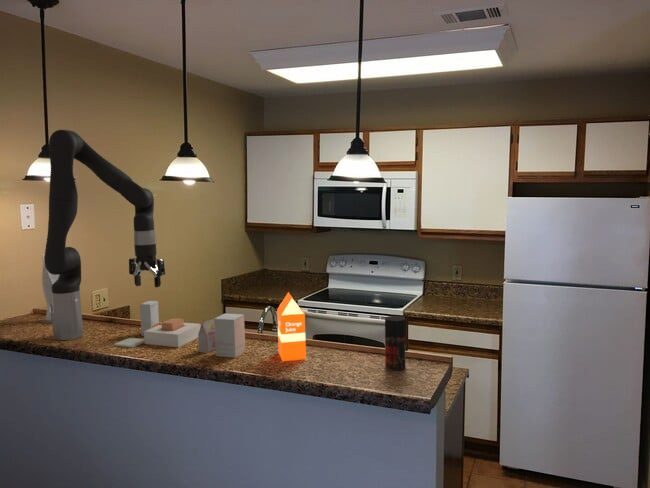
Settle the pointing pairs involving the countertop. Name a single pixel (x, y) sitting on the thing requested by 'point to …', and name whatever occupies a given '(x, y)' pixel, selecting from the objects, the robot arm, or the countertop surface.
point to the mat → (130, 342)
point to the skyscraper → (48, 290)
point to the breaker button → (172, 324)
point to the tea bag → (207, 337)
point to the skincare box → (149, 315)
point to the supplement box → (229, 335)
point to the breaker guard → (172, 335)
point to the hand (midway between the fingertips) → (147, 286)
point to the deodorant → (395, 343)
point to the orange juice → (291, 330)
